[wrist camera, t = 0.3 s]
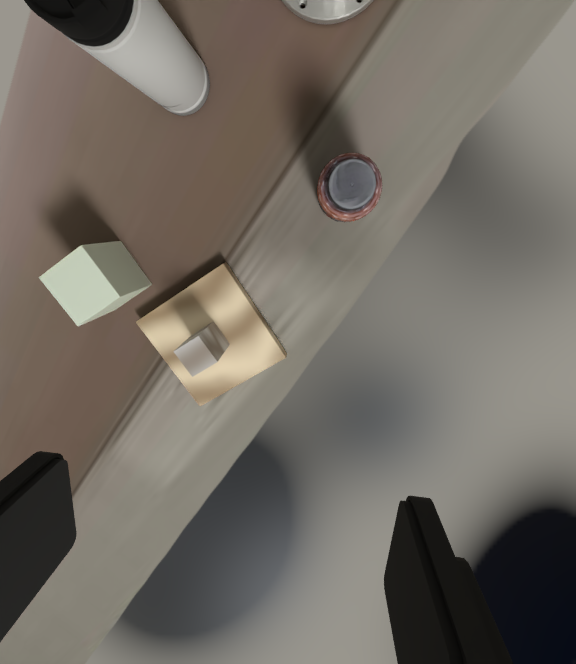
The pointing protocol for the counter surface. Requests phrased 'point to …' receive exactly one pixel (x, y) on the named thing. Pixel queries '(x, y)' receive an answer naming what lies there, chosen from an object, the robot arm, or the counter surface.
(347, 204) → the supplement bottle
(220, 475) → the counter surface
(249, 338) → the post board
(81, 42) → the travel mug
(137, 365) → the counter surface
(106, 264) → the pale green block
